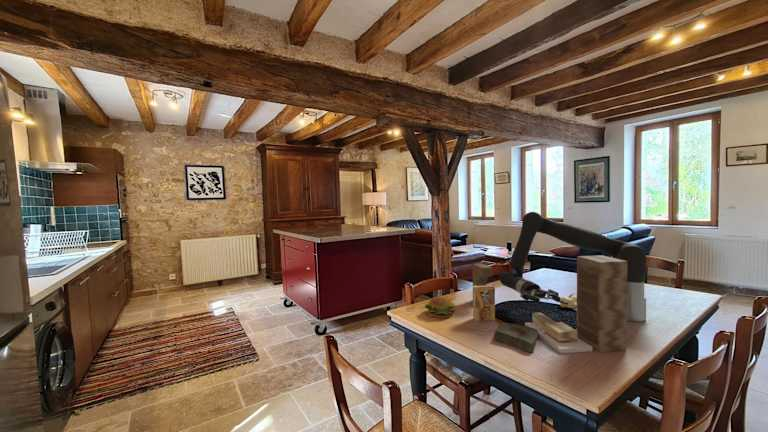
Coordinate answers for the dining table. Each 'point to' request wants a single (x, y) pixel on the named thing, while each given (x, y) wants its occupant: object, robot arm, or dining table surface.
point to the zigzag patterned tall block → (602, 302)
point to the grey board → (560, 347)
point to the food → (440, 307)
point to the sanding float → (555, 328)
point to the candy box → (484, 303)
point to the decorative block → (481, 274)
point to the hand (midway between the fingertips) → (549, 300)
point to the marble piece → (517, 336)
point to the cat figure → (568, 301)
